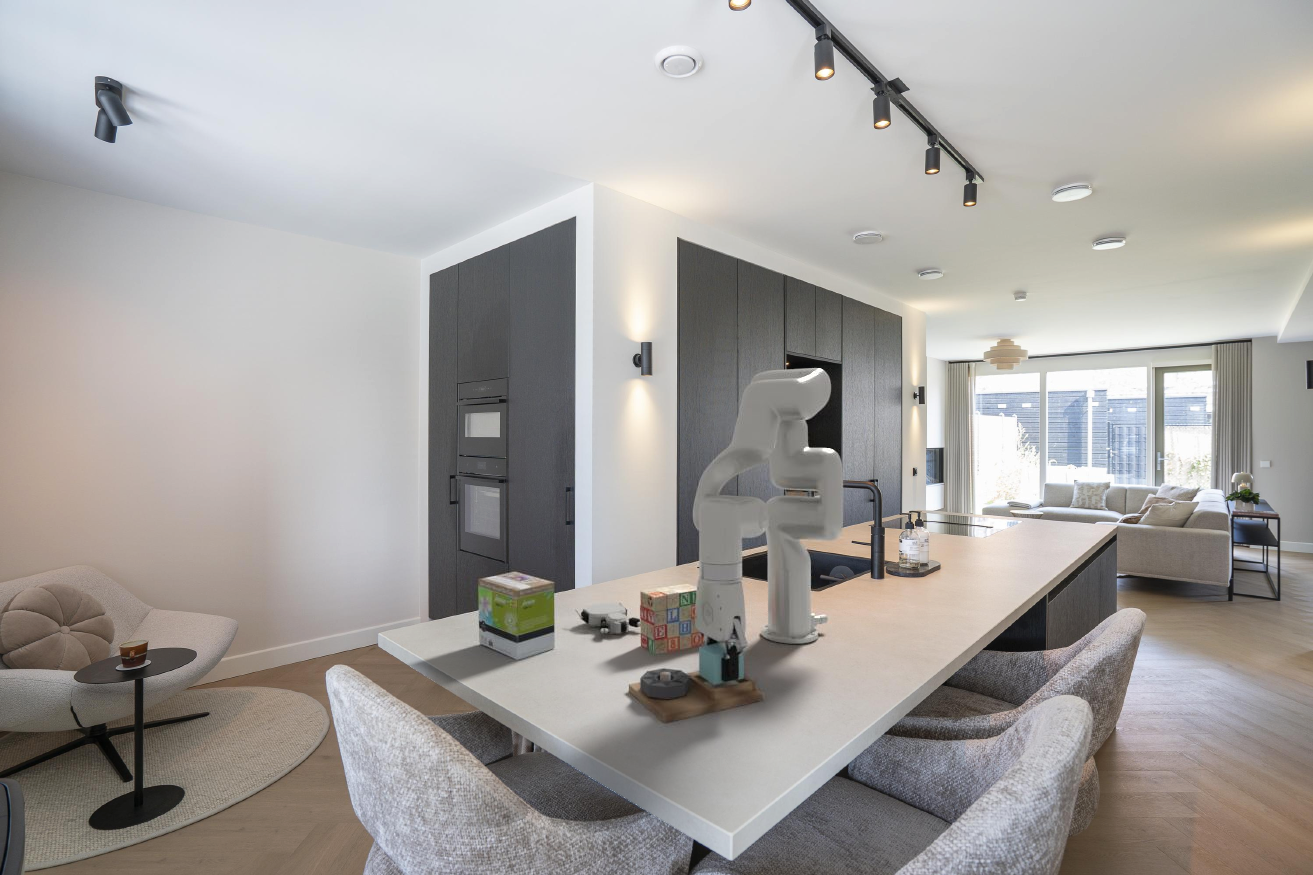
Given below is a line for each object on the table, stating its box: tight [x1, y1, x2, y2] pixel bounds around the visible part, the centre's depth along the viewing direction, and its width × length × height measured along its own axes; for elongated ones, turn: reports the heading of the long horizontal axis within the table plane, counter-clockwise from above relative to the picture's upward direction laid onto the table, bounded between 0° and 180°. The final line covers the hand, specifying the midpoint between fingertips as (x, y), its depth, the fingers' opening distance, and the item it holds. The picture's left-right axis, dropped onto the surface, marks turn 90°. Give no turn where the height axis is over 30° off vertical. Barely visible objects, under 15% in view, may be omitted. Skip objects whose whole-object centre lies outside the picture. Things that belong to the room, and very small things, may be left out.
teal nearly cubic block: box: [698, 642, 745, 685], centre depth 111 cm, size 6×5×5 cm
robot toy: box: [574, 601, 641, 635], centre depth 150 cm, size 12×4×15 cm
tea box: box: [477, 571, 556, 661], centre depth 137 cm, size 15×10×15 cm, turn 47°
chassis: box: [628, 670, 764, 724], centre depth 111 cm, size 19×14×4 cm
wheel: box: [639, 667, 690, 699], centre depth 110 cm, size 8×8×2 cm
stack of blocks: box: [639, 583, 733, 655], centre depth 140 cm, size 21×6×12 cm, turn 120°
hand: (721, 673), depth 111 cm, fingers closed on teal nearly cubic block, 4 cm apart
